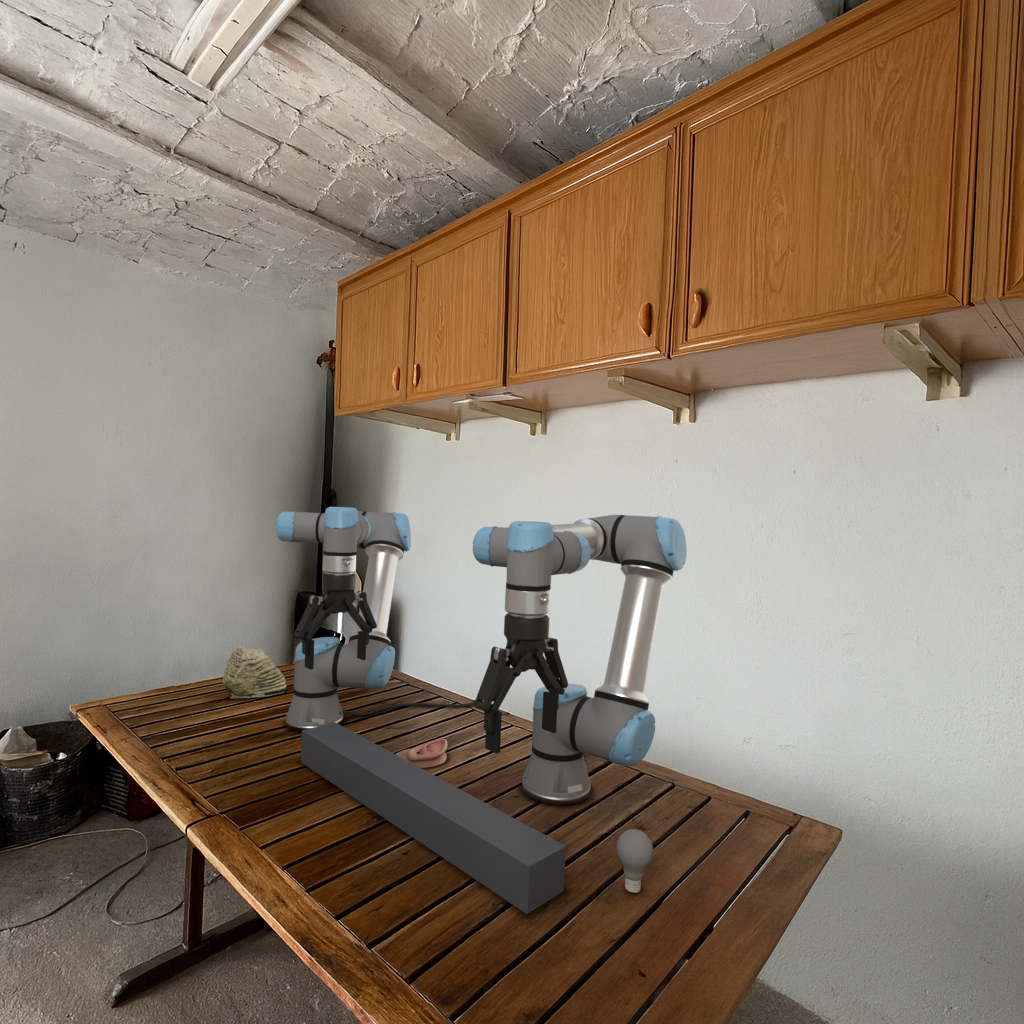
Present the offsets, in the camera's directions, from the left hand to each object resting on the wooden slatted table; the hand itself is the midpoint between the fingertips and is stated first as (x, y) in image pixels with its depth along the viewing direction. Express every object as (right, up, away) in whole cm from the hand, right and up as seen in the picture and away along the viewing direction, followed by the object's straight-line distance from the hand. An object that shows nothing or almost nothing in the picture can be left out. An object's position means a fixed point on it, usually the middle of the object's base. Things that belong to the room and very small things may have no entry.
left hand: (335, 663), depth 148 cm
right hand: (+43, -3, -42) cm, 60 cm away
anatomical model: (+18, -25, +6) cm, 32 cm away
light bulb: (+61, -28, -43) cm, 80 cm away
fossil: (-39, -22, +50) cm, 67 cm away
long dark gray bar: (+20, -26, -21) cm, 39 cm away
